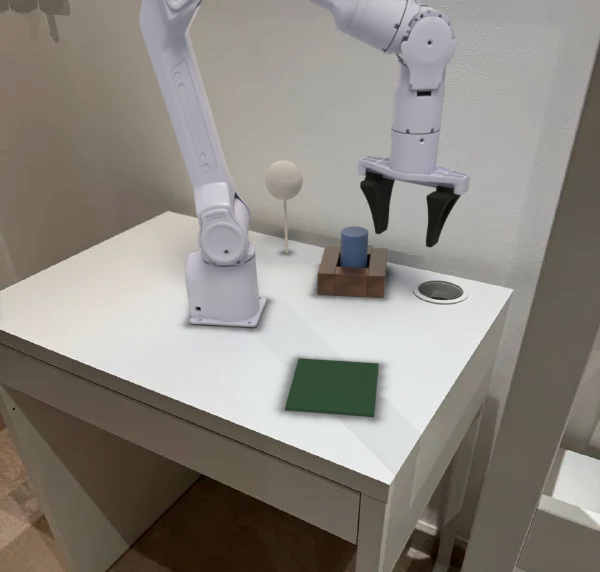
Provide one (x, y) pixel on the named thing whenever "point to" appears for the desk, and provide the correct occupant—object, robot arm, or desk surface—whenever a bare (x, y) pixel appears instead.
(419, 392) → the desk surface
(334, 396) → the mat
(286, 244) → the lollipop
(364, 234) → the peg
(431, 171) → the robot arm
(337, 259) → the holder
